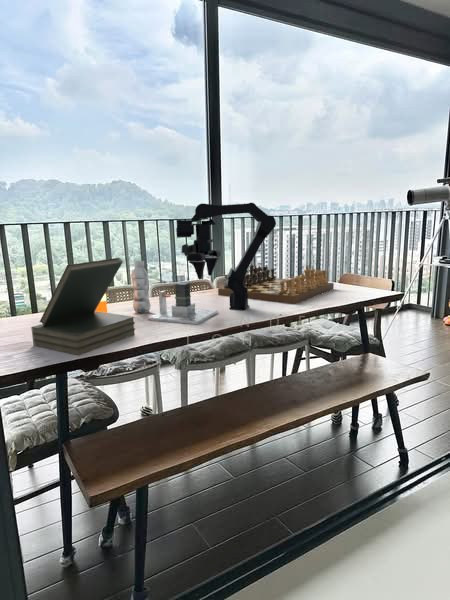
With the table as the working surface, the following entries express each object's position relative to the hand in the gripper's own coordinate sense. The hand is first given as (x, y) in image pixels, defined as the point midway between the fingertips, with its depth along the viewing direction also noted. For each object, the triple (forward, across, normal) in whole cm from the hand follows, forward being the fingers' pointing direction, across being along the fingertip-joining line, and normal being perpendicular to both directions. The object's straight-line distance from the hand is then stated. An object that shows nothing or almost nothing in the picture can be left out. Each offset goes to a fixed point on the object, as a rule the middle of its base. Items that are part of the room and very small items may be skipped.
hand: (204, 277), depth 164 cm
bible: (+14, +49, -18) cm, 54 cm away
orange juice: (+13, +22, -37) cm, 45 cm away
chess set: (+14, -44, +17) cm, 49 cm away
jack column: (+9, +13, -3) cm, 16 cm away
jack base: (+13, +13, -3) cm, 19 cm away
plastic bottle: (+13, +12, -22) cm, 28 cm away
